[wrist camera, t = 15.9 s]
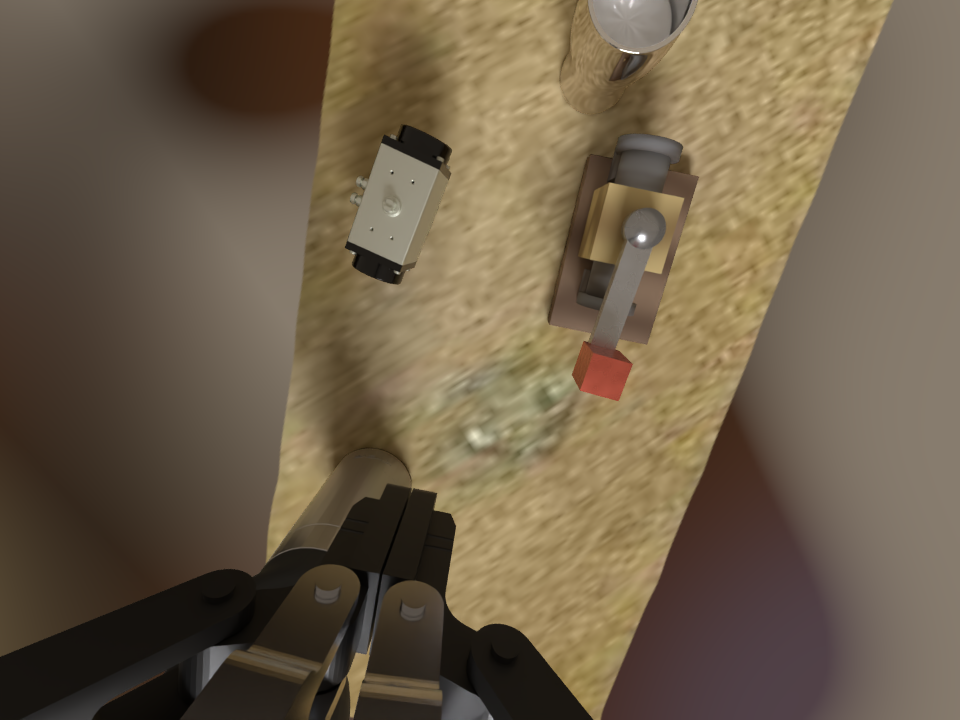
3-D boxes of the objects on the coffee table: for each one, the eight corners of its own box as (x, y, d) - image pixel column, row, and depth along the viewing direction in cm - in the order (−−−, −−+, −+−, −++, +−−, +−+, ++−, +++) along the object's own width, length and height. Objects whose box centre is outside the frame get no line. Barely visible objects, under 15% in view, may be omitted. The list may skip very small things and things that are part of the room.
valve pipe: (641, 340, 47) (674, 364, 38) (547, 320, 47) (558, 341, 38) (693, 168, 42) (746, 148, 33) (589, 146, 42) (614, 121, 33)
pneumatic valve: (462, 165, 43) (448, 139, 32) (417, 277, 46) (389, 291, 35) (409, 140, 43) (375, 104, 31) (368, 255, 46) (322, 261, 34)
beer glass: (560, 127, 42) (591, 68, 27) (549, 43, 40) (576, -67, 26) (635, 111, 41) (708, 42, 27) (628, 25, 40) (701, -98, 25)
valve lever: (629, 203, 34) (648, 198, 30) (666, 214, 34) (691, 211, 30) (568, 377, 38) (577, 396, 34) (602, 386, 38) (616, 407, 34)
